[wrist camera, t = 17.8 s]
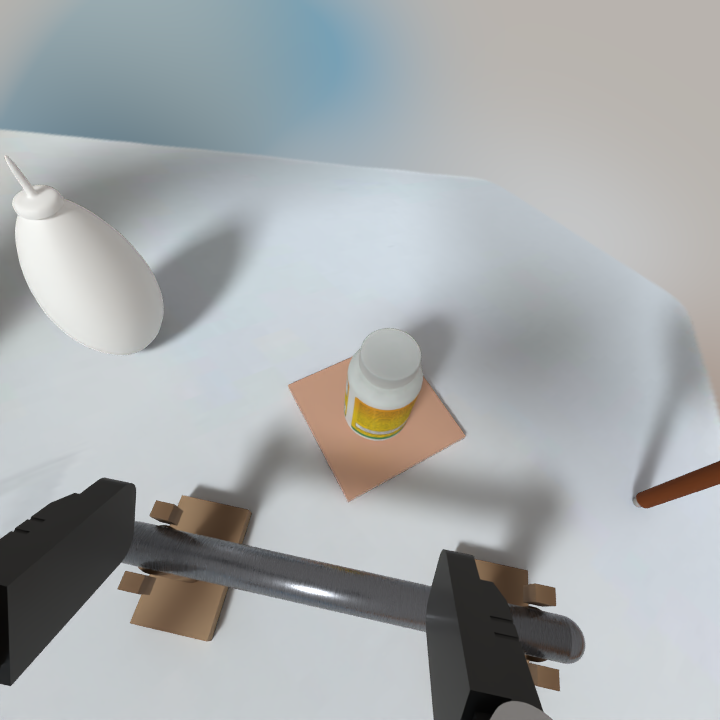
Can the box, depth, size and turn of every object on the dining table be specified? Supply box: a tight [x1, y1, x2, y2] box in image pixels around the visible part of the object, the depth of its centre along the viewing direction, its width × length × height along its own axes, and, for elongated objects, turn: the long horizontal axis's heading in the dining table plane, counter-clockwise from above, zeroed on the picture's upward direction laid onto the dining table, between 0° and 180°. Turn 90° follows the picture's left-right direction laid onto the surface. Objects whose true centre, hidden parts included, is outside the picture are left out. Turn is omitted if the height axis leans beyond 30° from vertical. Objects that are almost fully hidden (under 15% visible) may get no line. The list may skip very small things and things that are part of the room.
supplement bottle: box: [344, 328, 423, 441], centre depth 31 cm, size 5×5×10 cm
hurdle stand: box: [118, 495, 560, 691], centre depth 25 cm, size 25×8×10 cm, turn 79°
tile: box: [288, 357, 465, 502], centre depth 36 cm, size 11×11×1 cm
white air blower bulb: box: [4, 155, 164, 355], centre depth 31 cm, size 8×8×18 cm
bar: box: [122, 521, 585, 664], centre depth 21 cm, size 24×2×2 cm, turn 79°
